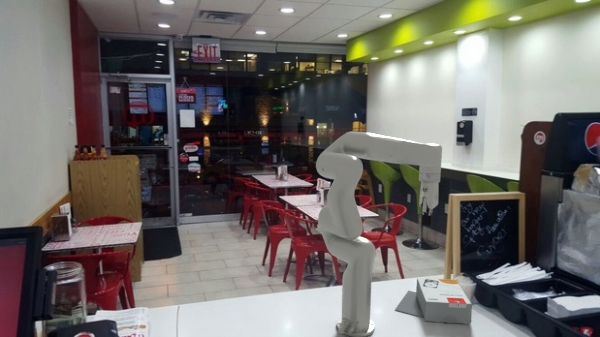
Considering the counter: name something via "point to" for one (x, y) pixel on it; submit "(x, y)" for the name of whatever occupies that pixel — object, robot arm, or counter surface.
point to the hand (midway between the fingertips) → (426, 224)
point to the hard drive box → (443, 301)
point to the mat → (411, 305)
